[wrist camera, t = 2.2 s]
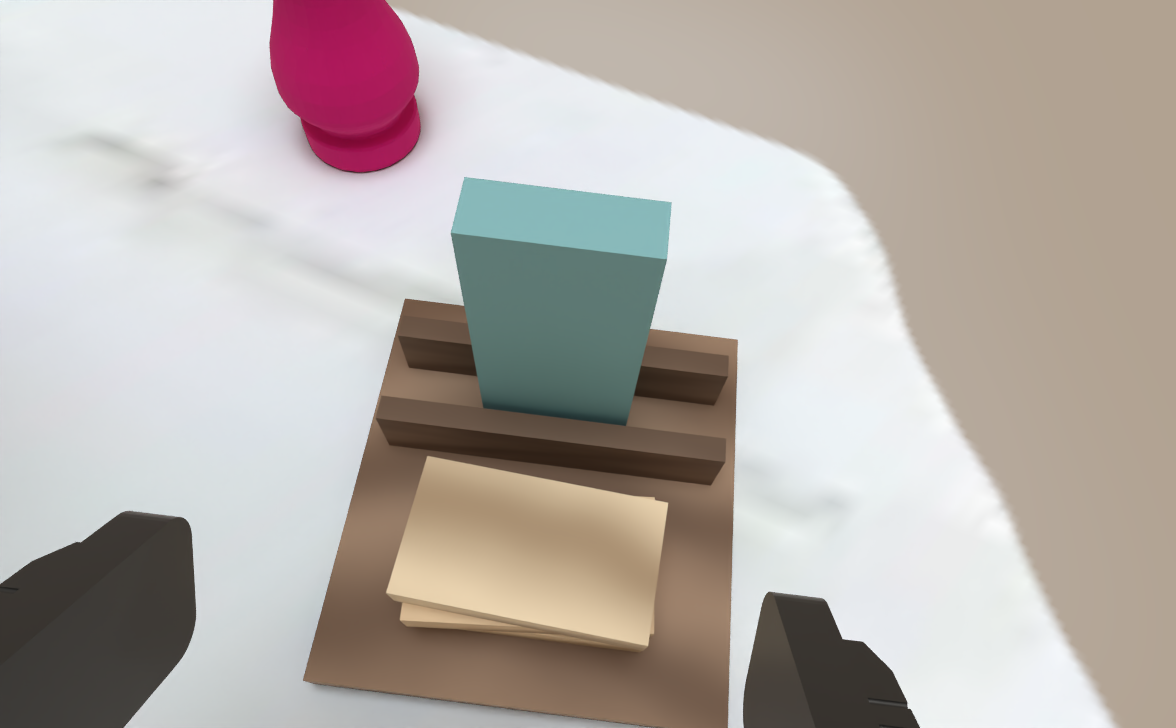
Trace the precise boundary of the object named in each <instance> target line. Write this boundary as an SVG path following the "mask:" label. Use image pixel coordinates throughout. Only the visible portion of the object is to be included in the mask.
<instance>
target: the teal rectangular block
mask: <svg viewBox="0 0 1176 728" xmlns="http://www.w3.org/2000/svg"><path fill="white" fill-rule="evenodd" d="M670 215H671V202H664V201H655V200H647V199H639V198H631V197H623V196H615V195H606V194H598V193H590V192H582V191H574V190H566V189H557V188H549V187H541V186H533V185H525V184H516V183H508V182H500V181H492V180H484V179H476V178H467V177H464V181H463V185H462V190H461V194H460V198H459V202H458V206H457V210H456V214H455V218H454V222H453V226H452V230H451V236H452V242H453V247H454V253H455V258H456V263H457V269H458V274H459V280H460V285H461V290H462V296H463V301H464V307H465V312H466V317H467V323H468V328H469V334H470V339H471V344H472V350H473V355H474V361H475V366H476V371H477V377H478V382H479V388H480V393H481V398H482V404H483V408H486V409H494V410H502V411H510V412H518V413H526V414H534V415H542V416H550V417H558V418H566V419H574V420H582V421H590V422H598V423H606V424H614V425H622V426H626V424H627V420H628V416H629V412H630V408H631V404H632V400H633V396H634V392H635V388H636V384H637V380H638V375H639V371H640V367H641V363H642V359H643V355H644V351H645V347H646V343H647V339H648V335H649V331H650V326H651V322H652V318H653V314H654V310H655V306H656V302H657V298H658V294H659V290H660V286H661V281H662V277H663V273H664V269H665V265H666V261H667V252H668V240H669V227H670Z"/></svg>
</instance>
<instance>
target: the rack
mask: <svg viewBox="0 0 1176 728" xmlns="http://www.w3.org/2000/svg"><path fill="white" fill-rule="evenodd" d="M737 347H738V340H735V339H727V338H719V337H711V336H703V335H695V334H686V333H678V332H670V331H662V330H654V329H650V331H649V335H648V339H647V343H646V347H645V351H644V355H643V359H642V363H641V367H640V371H639V375H638V380H637V384H636V388H635V392H634V396H633V400H632V404H631V408H630V412H629V416H628V420H627V424H626V426H622V425H614V424H606V423H598V422H590V421H582V420H574V419H566V418H558V417H550V416H542V415H534V414H526V413H518V412H510V411H502V410H494V409H486V408H483V404H482V398H481V393H480V388H479V382H478V377H477V371H476V366H475V361H474V355H473V350H472V344H471V339H470V334H469V328H468V323H467V317H466V312H465V307H464V306H460V305H452V304H444V303H436V302H428V301H420V300H412V299H405V301H404V305H403V308H402V312H401V316H400V320H399V323H398V327H397V331H396V335H395V338H394V342H393V346H392V349H391V353H390V357H389V361H388V364H387V368H386V372H385V376H384V379H383V383H382V387H381V391H380V394H379V398H378V402H377V405H376V409H375V413H374V417H373V420H372V424H371V428H370V432H369V435H368V439H367V443H366V447H365V450H364V454H363V458H362V462H361V465H360V469H359V473H358V476H357V480H356V484H355V488H354V491H353V495H352V499H351V503H350V506H349V510H348V514H347V518H346V521H345V525H344V529H343V532H342V536H341V540H340V544H339V547H338V551H337V555H336V559H335V562H334V566H333V570H332V574H331V577H330V581H329V585H328V589H327V592H326V596H325V600H324V603H323V607H322V611H321V615H320V618H319V622H318V626H317V630H316V633H315V637H314V641H313V645H312V648H311V652H310V656H309V659H308V663H307V667H306V671H305V674H304V678H303V681H306V682H310V683H313V684H320V685H328V686H336V687H344V688H352V689H359V690H367V691H375V692H383V693H390V694H398V695H406V696H414V697H422V698H429V699H437V700H445V701H453V702H460V703H468V704H476V705H484V706H492V707H499V708H507V709H515V710H523V711H530V712H538V713H546V714H554V715H561V716H569V717H577V718H585V719H593V720H600V721H608V722H616V723H624V724H631V725H639V726H647V727H655V728H728V694H729V656H730V617H731V578H732V540H733V501H734V463H735V424H736V385H737ZM427 456H431V457H436V458H441V459H446V460H451V461H456V462H461V463H466V464H472V465H477V466H482V467H487V468H492V469H497V470H502V471H508V472H513V473H518V474H523V475H528V476H533V477H538V478H543V479H549V480H554V481H559V482H564V483H569V484H574V485H579V486H585V487H590V488H595V489H600V490H605V491H610V492H615V493H620V494H626V495H631V496H640V497H655V500H656V501H662V502H667V503H668V508H667V515H666V523H665V530H664V537H663V544H662V551H661V558H660V565H659V573H658V580H657V587H656V594H655V601H654V635H653V636H652V637H651V638H650V639H649V644H648V647H647V648H646V649H645V650H644V651H641V652H640V653H639V652H631V651H623V650H616V649H608V648H600V647H592V646H584V645H576V644H569V643H561V642H553V641H545V640H537V639H529V638H522V637H514V636H506V635H498V634H490V633H482V632H475V631H467V630H459V629H445V628H426V627H407V626H406V625H404V624H403V623H402V622H401V621H400V615H401V608H402V602H398V601H394V600H393V599H392V598H391V597H390V596H389V595H388V594H387V593H386V591H387V588H388V585H389V581H390V578H391V575H392V571H393V568H394V565H395V561H396V558H397V555H398V552H399V548H400V545H401V542H402V538H403V535H404V532H405V528H406V525H407V522H408V518H409V515H410V512H411V509H412V505H413V502H414V499H415V495H416V492H417V489H418V485H419V482H420V479H421V475H422V472H423V469H424V466H425V462H426V459H427Z"/></svg>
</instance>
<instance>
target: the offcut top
mask: <svg viewBox="0 0 1176 728" xmlns="http://www.w3.org/2000/svg"><path fill="white" fill-rule="evenodd" d="M667 508H668V503H667V502H662V501H656V500H651V499H646V498H641V497H636V496H631V495H626V494H620V493H615V492H610V491H605V490H600V489H595V488H590V487H585V486H579V485H574V484H569V483H564V482H559V481H554V480H549V479H543V478H538V477H533V476H528V475H523V474H518V473H513V472H508V471H502V470H497V469H492V468H487V467H482V466H477V465H472V464H466V463H461V462H456V461H451V460H446V459H441V458H436V457H431V456H427V459H426V462H425V466H424V469H423V472H422V475H421V479H420V482H419V485H418V489H417V492H416V495H415V499H414V502H413V505H412V509H411V512H410V515H409V518H408V522H407V525H406V528H405V532H404V535H403V538H402V542H401V545H400V548H399V552H398V555H397V558H396V561H395V565H394V568H393V571H392V575H391V578H390V581H389V585H388V588H387V591H386V593H387V594H388V595H389V596H390V597H391V598H392V599H393V600H394V601H398V602H403V603H408V604H413V605H418V606H423V607H427V608H432V609H437V610H442V611H447V612H452V613H457V614H462V615H467V616H472V617H477V618H482V619H487V620H491V621H496V622H501V623H506V624H511V625H516V626H521V627H526V628H531V629H536V630H541V631H546V632H550V633H555V634H560V635H565V636H570V637H575V638H580V639H585V640H590V641H595V642H600V643H605V644H610V645H614V646H619V647H624V648H629V649H634V650H639V651H644V650H645V649H646V648H647V647H648V644H649V637H650V630H651V622H652V615H653V608H654V601H655V594H656V587H657V580H658V573H659V565H660V558H661V551H662V544H663V537H664V530H665V523H666V515H667Z"/></svg>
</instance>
